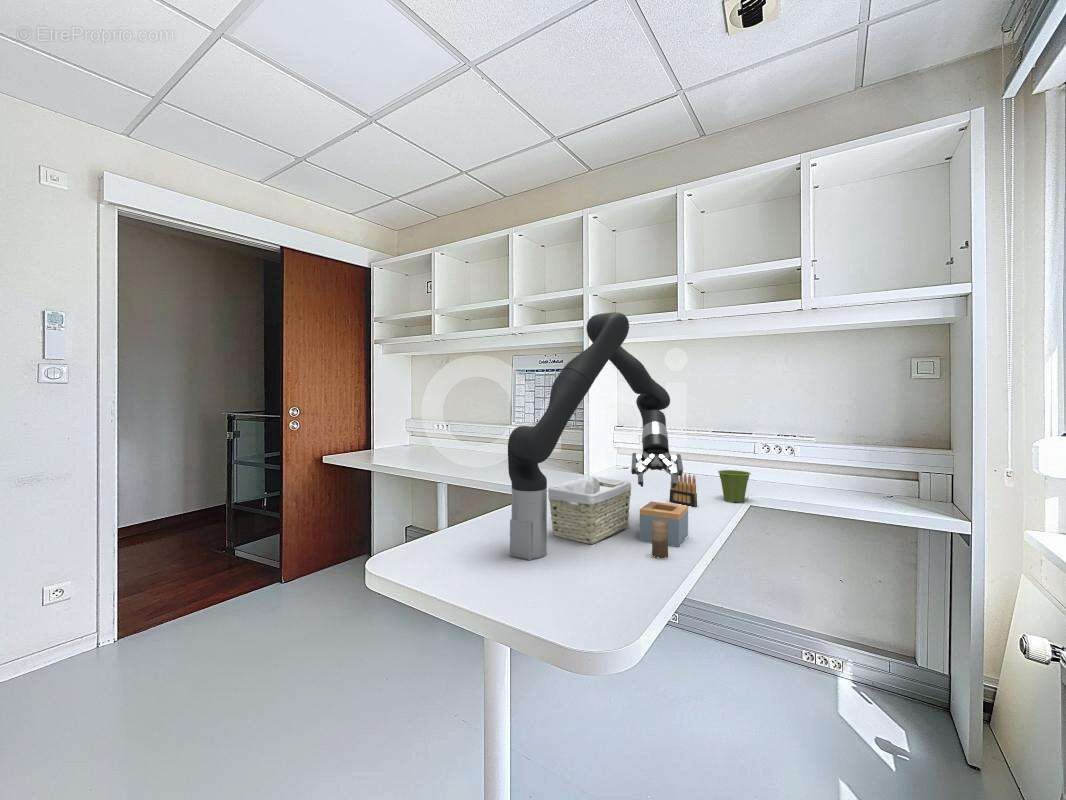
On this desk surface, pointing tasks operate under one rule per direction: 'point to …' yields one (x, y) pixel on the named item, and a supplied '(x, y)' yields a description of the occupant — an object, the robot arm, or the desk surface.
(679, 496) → the ammunition clip
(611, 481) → the storage basket
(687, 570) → the desk surface
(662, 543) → the peg
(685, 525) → the sleeve
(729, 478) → the plant pot
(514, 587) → the desk surface
